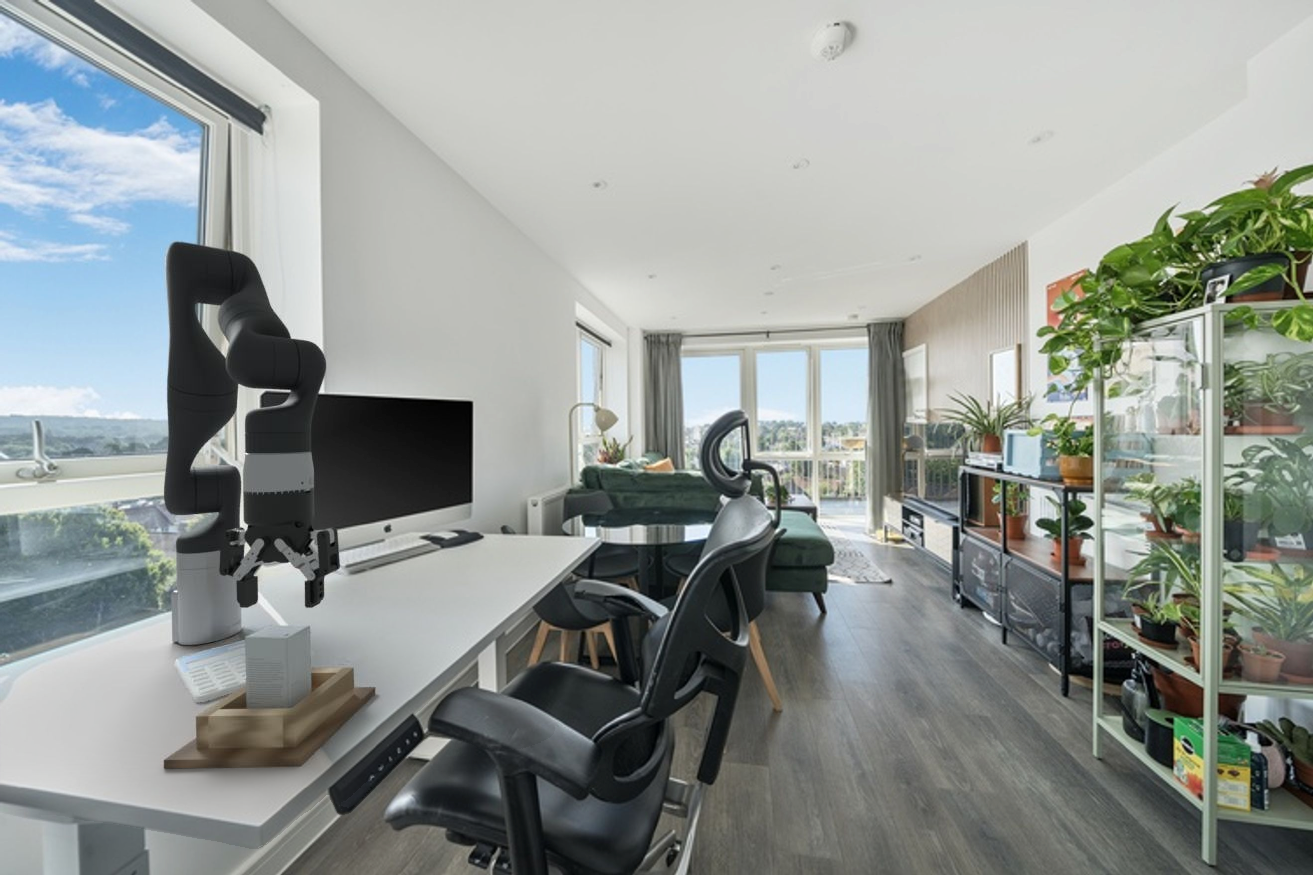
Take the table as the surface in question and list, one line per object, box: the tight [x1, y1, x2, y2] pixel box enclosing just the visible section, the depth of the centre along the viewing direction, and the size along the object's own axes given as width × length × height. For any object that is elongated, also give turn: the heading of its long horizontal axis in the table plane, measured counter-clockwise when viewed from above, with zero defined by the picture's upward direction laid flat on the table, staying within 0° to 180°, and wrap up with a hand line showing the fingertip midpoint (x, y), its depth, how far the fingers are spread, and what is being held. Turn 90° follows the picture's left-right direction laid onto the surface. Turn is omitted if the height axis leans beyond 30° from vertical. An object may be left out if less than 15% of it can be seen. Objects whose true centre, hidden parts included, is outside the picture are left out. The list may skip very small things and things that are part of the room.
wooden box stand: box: [163, 667, 376, 769], centre depth 66 cm, size 16×16×5 cm
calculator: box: [174, 639, 246, 704], centre depth 82 cm, size 13×20×2 cm, turn 52°
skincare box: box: [244, 624, 312, 709], centre depth 66 cm, size 6×4×12 cm
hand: (281, 605), depth 66 cm, fingers open, 8 cm apart
